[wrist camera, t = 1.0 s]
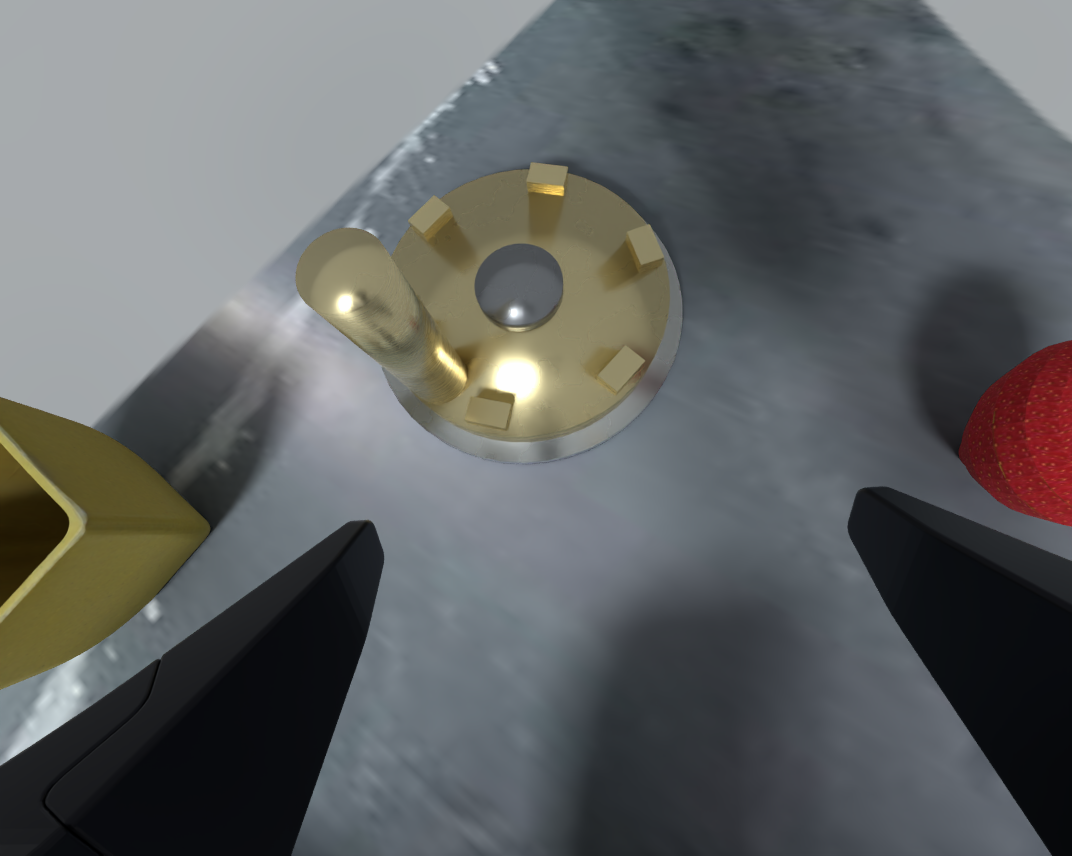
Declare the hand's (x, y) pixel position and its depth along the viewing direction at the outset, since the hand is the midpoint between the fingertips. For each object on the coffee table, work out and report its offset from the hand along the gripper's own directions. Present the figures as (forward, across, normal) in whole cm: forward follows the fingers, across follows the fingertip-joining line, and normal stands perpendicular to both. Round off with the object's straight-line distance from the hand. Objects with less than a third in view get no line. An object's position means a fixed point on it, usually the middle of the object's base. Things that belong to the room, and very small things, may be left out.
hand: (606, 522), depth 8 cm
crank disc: (+19, +2, 0) cm, 19 cm away
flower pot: (+12, +24, +9) cm, 28 cm away
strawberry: (+13, -18, +8) cm, 24 cm away
